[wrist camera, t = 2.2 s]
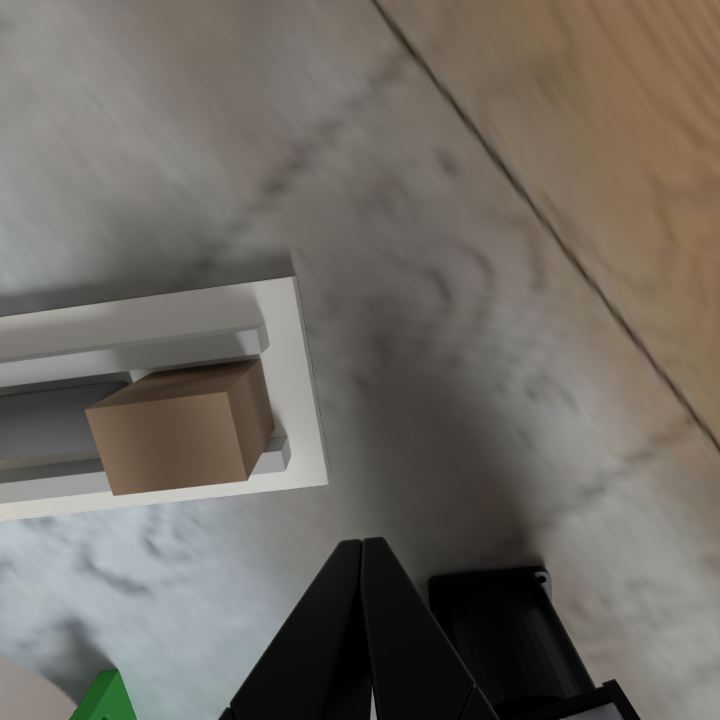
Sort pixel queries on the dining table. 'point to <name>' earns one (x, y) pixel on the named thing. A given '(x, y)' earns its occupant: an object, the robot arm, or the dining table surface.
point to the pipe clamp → (106, 700)
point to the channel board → (159, 353)
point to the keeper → (184, 428)
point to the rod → (50, 420)
